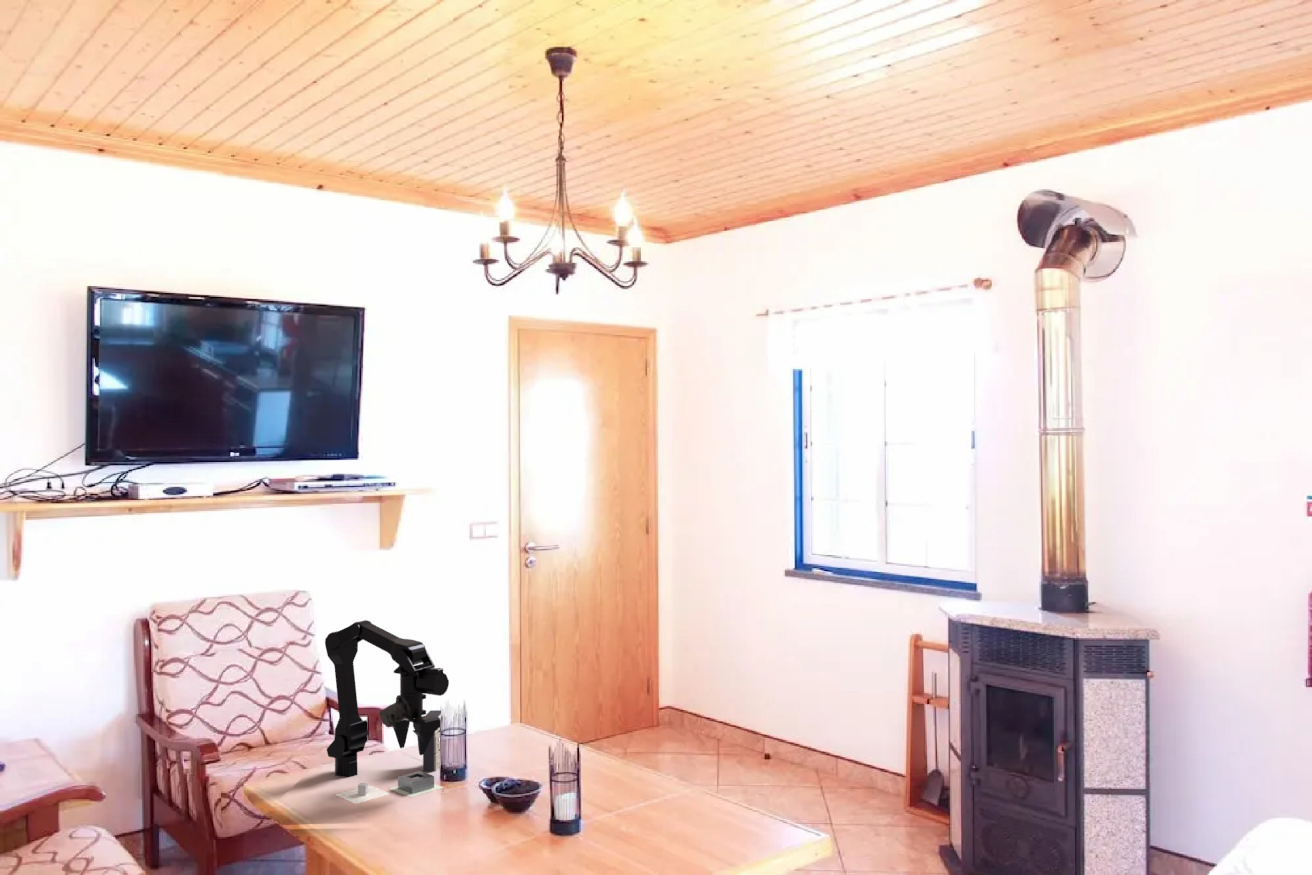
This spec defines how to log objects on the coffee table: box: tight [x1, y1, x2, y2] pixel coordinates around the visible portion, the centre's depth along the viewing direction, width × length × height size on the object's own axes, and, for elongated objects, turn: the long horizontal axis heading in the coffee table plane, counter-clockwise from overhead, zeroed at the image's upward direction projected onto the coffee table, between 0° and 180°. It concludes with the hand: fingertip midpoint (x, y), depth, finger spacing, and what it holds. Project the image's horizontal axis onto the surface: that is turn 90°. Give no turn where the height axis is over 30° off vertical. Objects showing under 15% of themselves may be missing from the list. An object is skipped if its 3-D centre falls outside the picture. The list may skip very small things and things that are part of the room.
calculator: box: [422, 709, 441, 773], centre depth 282 cm, size 11×4×15 cm, turn 179°
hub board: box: [388, 777, 445, 798], centre depth 263 cm, size 10×10×4 cm
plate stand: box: [335, 782, 391, 805], centre depth 258 cm, size 10×10×4 cm
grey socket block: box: [397, 770, 435, 794], centre depth 263 cm, size 7×7×3 cm
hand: (411, 751), depth 265 cm, fingers open, 9 cm apart
